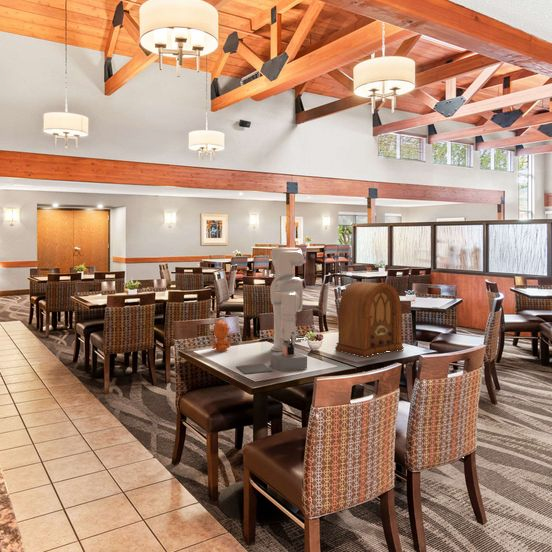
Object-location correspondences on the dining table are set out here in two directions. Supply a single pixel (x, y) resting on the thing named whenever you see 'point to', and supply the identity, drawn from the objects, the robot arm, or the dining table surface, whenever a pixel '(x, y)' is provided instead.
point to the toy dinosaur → (221, 336)
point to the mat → (254, 368)
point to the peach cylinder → (286, 349)
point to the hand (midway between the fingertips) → (288, 353)
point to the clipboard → (295, 340)
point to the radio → (369, 319)
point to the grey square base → (288, 361)
